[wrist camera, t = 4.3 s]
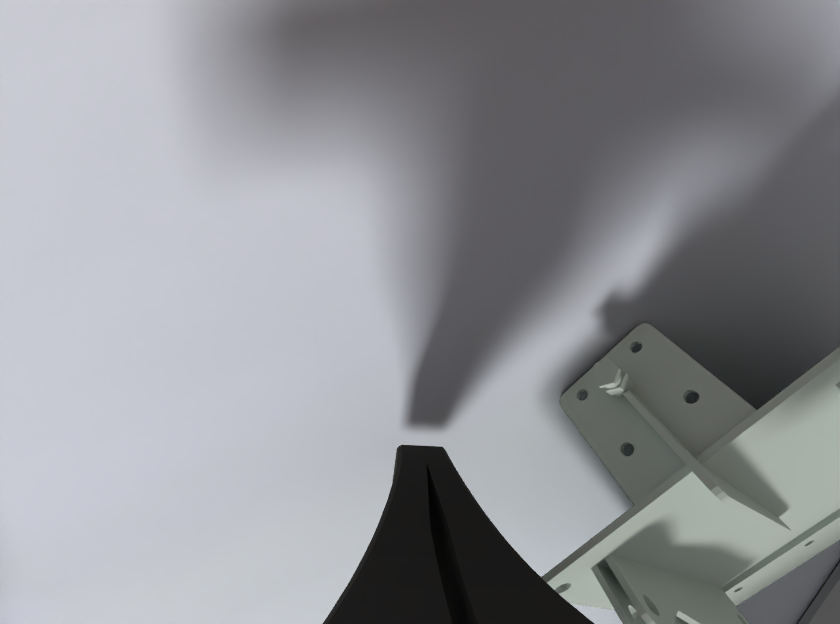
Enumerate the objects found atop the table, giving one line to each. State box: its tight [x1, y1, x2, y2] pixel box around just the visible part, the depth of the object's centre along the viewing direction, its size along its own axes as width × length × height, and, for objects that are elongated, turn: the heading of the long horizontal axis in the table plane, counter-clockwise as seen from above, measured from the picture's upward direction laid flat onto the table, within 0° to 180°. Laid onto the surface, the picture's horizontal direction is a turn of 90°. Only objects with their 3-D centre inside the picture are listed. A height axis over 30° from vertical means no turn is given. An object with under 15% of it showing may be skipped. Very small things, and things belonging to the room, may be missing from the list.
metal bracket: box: [541, 323, 840, 624], centre depth 14 cm, size 14×6×15 cm
